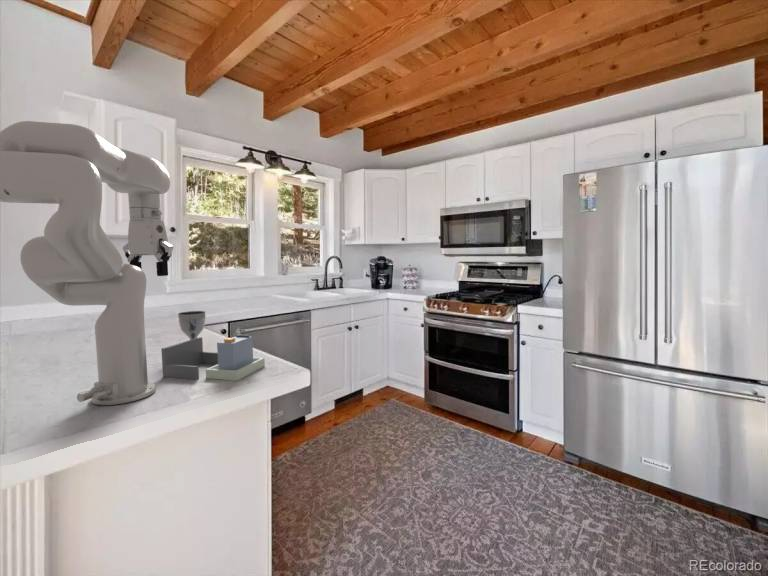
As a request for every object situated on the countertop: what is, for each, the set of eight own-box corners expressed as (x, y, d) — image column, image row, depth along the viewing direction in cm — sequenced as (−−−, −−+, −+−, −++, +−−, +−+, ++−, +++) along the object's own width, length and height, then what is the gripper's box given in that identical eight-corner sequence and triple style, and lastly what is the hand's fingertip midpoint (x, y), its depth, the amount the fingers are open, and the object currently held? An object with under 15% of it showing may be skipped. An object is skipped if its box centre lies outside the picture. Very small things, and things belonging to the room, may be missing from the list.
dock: (196, 379, 99) (195, 350, 98) (163, 376, 102) (161, 348, 101) (231, 364, 113) (230, 338, 113) (200, 362, 116) (199, 337, 115)
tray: (236, 380, 98) (236, 371, 98) (206, 378, 100) (205, 369, 100) (264, 366, 111) (264, 357, 111) (236, 364, 113) (236, 356, 113)
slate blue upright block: (253, 366, 109) (252, 333, 108) (234, 375, 101) (232, 340, 100) (238, 365, 110) (237, 333, 110) (218, 374, 102) (216, 339, 101)
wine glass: (212, 354, 125) (210, 311, 124) (198, 360, 118) (195, 314, 116) (190, 353, 126) (188, 310, 125) (175, 360, 118) (172, 314, 117)
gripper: (180, 215, 105) (183, 275, 107) (134, 218, 110) (138, 274, 112) (158, 213, 98) (161, 276, 100) (109, 215, 103) (113, 276, 105)
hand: (149, 275), depth 106 cm, fingers open, 9 cm apart
